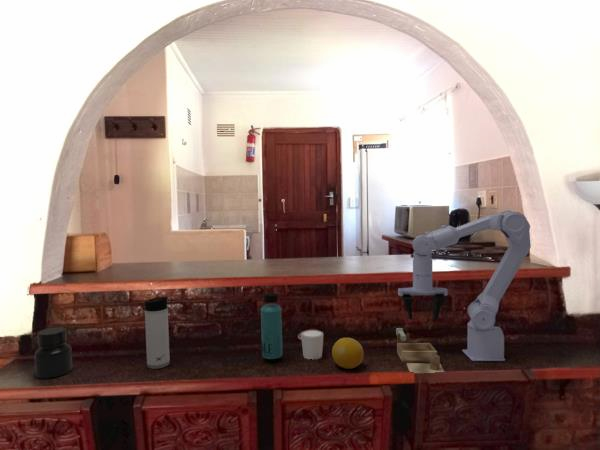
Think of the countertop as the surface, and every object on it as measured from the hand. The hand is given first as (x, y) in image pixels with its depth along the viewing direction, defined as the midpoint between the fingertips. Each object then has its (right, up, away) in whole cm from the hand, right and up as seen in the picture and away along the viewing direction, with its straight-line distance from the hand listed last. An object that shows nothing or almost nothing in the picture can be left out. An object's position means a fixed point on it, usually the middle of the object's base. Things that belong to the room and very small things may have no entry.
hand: (422, 318), depth 122 cm
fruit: (-24, -12, -10) cm, 28 cm away
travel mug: (-79, -12, -6) cm, 80 cm away
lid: (-3, -12, -12) cm, 17 cm away
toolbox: (-3, -11, -4) cm, 12 cm away
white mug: (-34, -11, -1) cm, 36 cm away
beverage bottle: (-46, -12, -4) cm, 48 cm away
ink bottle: (-107, -13, -10) cm, 108 cm away
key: (-6, -7, +3) cm, 9 cm away
